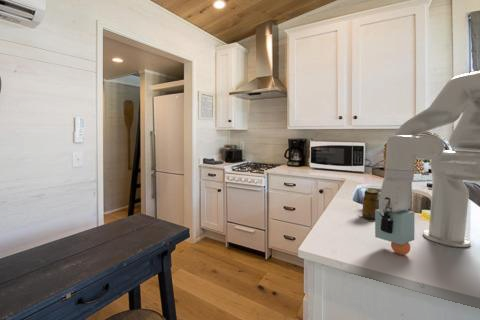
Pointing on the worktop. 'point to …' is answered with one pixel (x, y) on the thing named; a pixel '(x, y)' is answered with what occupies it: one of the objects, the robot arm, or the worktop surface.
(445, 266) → the worktop surface
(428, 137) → the robot arm
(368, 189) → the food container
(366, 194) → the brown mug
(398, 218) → the mint green cube
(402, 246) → the ball
